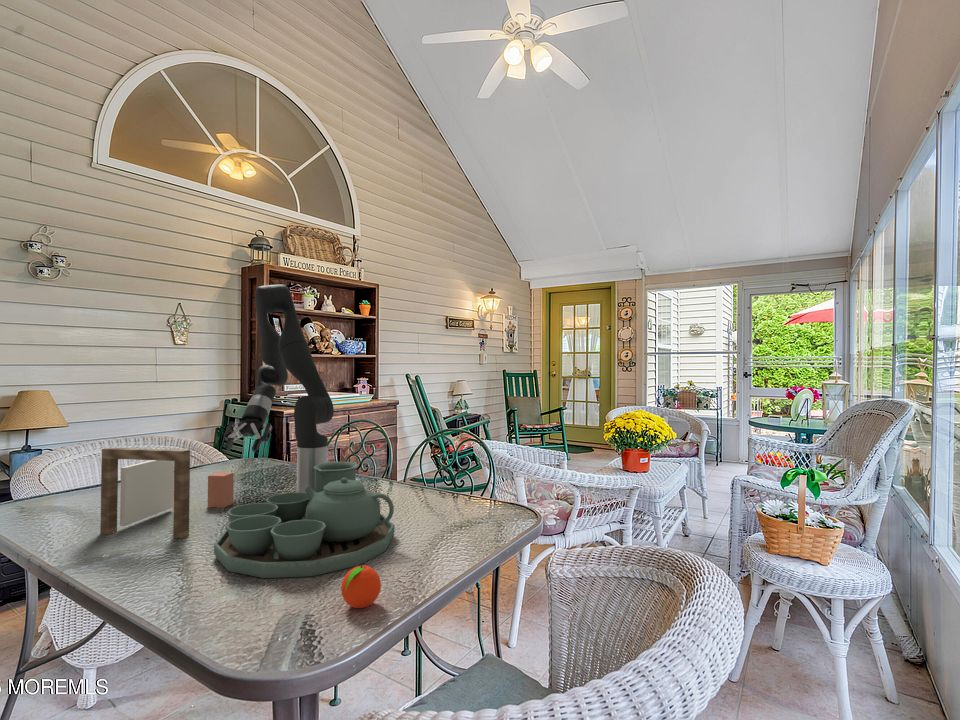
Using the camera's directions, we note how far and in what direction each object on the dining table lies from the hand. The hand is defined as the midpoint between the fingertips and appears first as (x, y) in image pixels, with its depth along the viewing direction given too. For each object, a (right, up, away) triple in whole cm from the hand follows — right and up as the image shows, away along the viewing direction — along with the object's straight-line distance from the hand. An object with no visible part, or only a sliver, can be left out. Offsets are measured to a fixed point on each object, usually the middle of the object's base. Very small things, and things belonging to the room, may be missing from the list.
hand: (240, 450), depth 162 cm
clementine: (+56, -15, -74) cm, 94 cm away
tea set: (+37, -15, -43) cm, 59 cm away
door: (-14, -14, -25) cm, 32 cm away
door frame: (-6, -15, -37) cm, 40 cm away
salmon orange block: (-1, -15, -10) cm, 18 cm away
